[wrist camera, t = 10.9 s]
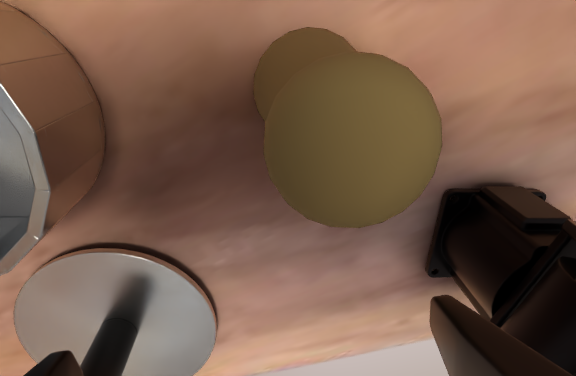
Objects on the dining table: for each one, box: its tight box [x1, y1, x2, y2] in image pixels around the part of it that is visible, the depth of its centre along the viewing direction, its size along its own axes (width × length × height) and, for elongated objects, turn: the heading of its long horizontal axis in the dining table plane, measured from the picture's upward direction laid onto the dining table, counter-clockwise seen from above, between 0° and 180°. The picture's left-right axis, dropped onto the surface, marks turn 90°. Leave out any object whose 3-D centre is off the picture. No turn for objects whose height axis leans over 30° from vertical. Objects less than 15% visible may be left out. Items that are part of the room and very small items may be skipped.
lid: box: [14, 248, 217, 376], centre depth 22 cm, size 13×13×6 cm
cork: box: [253, 27, 442, 228], centre depth 14 cm, size 6×6×11 cm
